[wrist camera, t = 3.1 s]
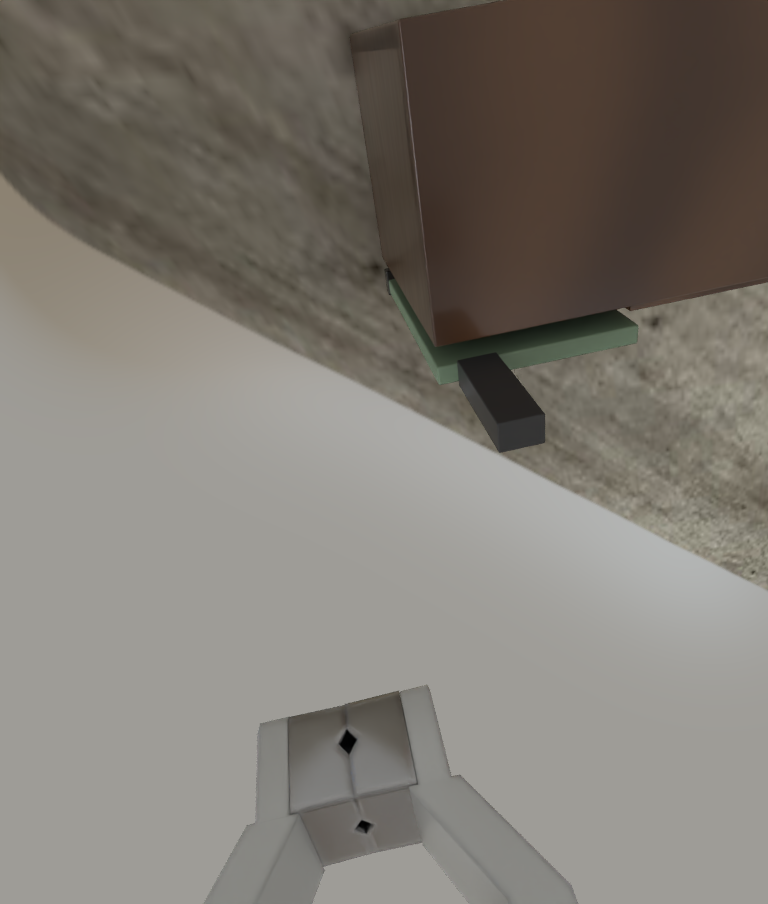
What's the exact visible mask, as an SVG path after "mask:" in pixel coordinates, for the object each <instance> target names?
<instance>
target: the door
mask: <svg viewBox="0 0 768 904" xmlns="http://www.w3.org/2000/svg"><path fill="white" fill-rule="evenodd" d="M389 288H390V293H391V295H392V297H393V299H394V301H395V303H396V305H397V306H398V308H399V310H400V312H401V314H402V316H403V318H404V320H405V321H406V323H407V325H408V327H409V329H410V331H411V333H412V335H413V337H414V338H415V340H416V342H417V344H418V346H419V348H420V350H421V352H422V354H423V355H424V357H425V359H426V361H427V363H428V365H429V367H430V369H431V371H432V372H433V374H434V376H435V378H436V380H437V382H438V384H439V385H442V384H447V383H452V382H456V381H459V386H460V387H461V389H462V391H463V392H464V394H465V396H466V397H467V399H468V401H469V403H470V404H471V406H472V408H473V409H474V411H475V413H476V414H477V416H478V418H479V419H480V421H481V423H482V425H483V426H484V428H485V430H486V431H487V433H488V435H489V436H490V438H491V440H492V441H493V443H494V445H495V446H496V448H497V450H498V452H500V453H501V452H505V451H510V450H515V449H519V448H524V447H528V446H533V445H537V444H542V443H545V414H544V412H543V411H542V410H541V408H540V407H539V406H538V405H537V403H536V402H535V401H534V399H533V398H532V397H531V396H530V394H529V393H528V392H527V391H526V389H525V388H524V387H523V385H522V384H521V383H520V382H519V380H518V379H517V378H516V377H515V375H514V374H513V373H512V371H511V370H513V369H517V368H522V367H527V366H532V365H536V364H541V363H546V362H550V361H555V360H560V359H564V358H569V357H574V356H579V355H583V354H588V353H593V352H597V351H602V350H607V349H611V348H616V347H621V346H626V345H630V344H635V343H637V338H638V325H637V324H636V323H634V322H633V321H631V320H630V319H629V318H627V317H626V316H624V315H623V314H622V313H620V312H619V311H617V310H611V311H606V312H602V313H597V314H592V315H587V316H583V317H578V318H573V319H568V320H563V321H559V322H554V323H549V324H544V325H540V326H535V327H530V328H525V329H521V330H516V331H511V332H506V333H501V334H497V335H492V336H487V337H482V338H478V339H473V340H468V341H463V342H458V343H454V344H449V345H444V346H439V347H435V346H434V344H433V343H432V341H431V339H430V337H429V336H428V334H427V332H426V331H425V329H424V327H423V325H422V324H421V322H420V320H419V319H418V317H417V315H416V313H415V312H414V310H413V308H412V307H411V305H410V303H409V302H408V300H407V298H406V296H405V295H404V293H403V291H402V290H401V288H400V286H399V284H398V283H397V281H396V279H392V280H389Z"/></svg>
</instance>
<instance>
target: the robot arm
mask: <svg viewBox="0 0 768 904" xmlns="http://www.w3.org/2000/svg"><path fill="white" fill-rule="evenodd" d="M400 696H401V697H400ZM401 701H402V702H401ZM256 779H257V780H256V782H257V783H256V821H255V823H254V824H250V825H247V826H246V828H245V830H244V831H243V833H242V835H241V837H240V839H239V841H238V842H237V844H236V846H235V848H234V849H233V851H232V853H231V855H230V857H229V858H228V860H227V862H226V864H225V866H224V868H223V869H222V871H221V873H220V875H219V877H218V878H217V880H216V882H215V884H214V886H213V887H212V889H211V891H210V893H209V895H208V896H207V898H206V900H205V902H204V904H312V903H313V899H314V897H315V894H316V892H317V889H318V887H319V884H320V881H321V878H322V876H323V873H324V868H323V867H324V866H327V865H331V864H335V863H339V862H342V861H346V860H349V859H353V858H357V857H360V856H364V855H368V854H371V853H376V852H380V851H385V850H389V849H395V848H399V847H404V846H408V845H413V844H418V843H423V846H424V847H425V849H426V850H427V851H428V852H429V854H430V855H431V856H432V857H433V859H434V860H435V861H436V862H437V864H438V865H439V866H440V868H441V869H442V870H443V871H444V873H445V874H446V875H447V876H448V878H449V879H450V880H451V881H452V883H453V884H454V885H455V887H456V888H457V889H458V890H459V892H460V893H461V894H462V895H463V897H464V898H465V899H466V900H467V902H468V903H469V904H578V902H577V899H576V896H575V894H574V891H573V888H572V885H571V884H570V883H569V882H568V881H567V880H566V879H565V878H564V877H563V876H562V875H561V874H560V873H559V872H558V871H557V870H556V869H555V868H554V867H553V866H552V865H551V864H550V863H549V862H548V861H547V860H546V859H544V857H543V856H542V855H541V854H540V853H538V852H537V850H535V848H534V847H533V846H531V845H530V844H529V843H528V842H527V841H526V840H525V839H524V838H523V837H522V836H521V835H520V834H519V833H518V832H517V831H516V830H515V829H514V828H513V827H512V826H511V825H510V824H509V823H508V822H507V821H506V820H505V819H504V818H503V817H502V816H501V815H500V814H499V813H498V812H497V811H496V810H495V809H494V808H493V807H492V806H491V805H490V804H489V803H488V802H487V801H486V800H485V799H484V798H483V797H482V796H481V795H480V794H479V793H478V792H477V791H476V790H475V789H474V788H473V787H472V786H471V785H470V784H469V783H468V782H467V781H466V780H465V779H464V778H463V777H462V776H461V775H456V776H451V772H450V769H449V764H448V761H447V757H446V753H445V748H444V745H443V741H442V737H441V733H440V728H439V725H438V721H437V717H436V712H435V708H434V705H433V701H432V697H431V693H430V690H429V687H428V686H427V685H424V686H420V687H416V688H412V689H408V690H404V691H401V692H400V693H399V691H396V692H392V693H388V694H384V695H380V696H376V697H372V698H368V699H364V700H360V701H356V702H352V703H348V704H345V705H342V706H338V707H333V708H329V709H324V710H320V711H315V712H310V713H306V714H301V715H297V716H292V717H286V718H282V719H277V720H274V721H269V722H265V723H261V724H260V727H259V731H258V737H257V778H256Z"/></svg>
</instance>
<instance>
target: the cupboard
mask: <svg viewBox="0 0 768 904" xmlns="http://www.w3.org/2000/svg"><path fill="white" fill-rule="evenodd" d="M349 38H350V44H351V51H352V58H353V64H354V71H355V78H356V84H357V91H358V97H359V104H360V111H361V117H362V124H363V131H364V137H365V144H366V150H367V157H368V164H369V170H370V177H371V184H372V190H373V197H374V204H375V210H376V217H377V223H378V230H379V237H380V243H381V250H382V257H383V259H384V261H385V262H386V264H387V266H388V267H389V268H387V269H385V277H386V283H387V290H388V293H389V295H391V293H390V288H389V280H392V279H396V281H397V283H398V284H399V286H400V288H401V290H402V291H403V293H404V295H405V296H406V298H407V300H408V302H409V303H410V305H411V307H412V308H413V310H414V312H415V313H416V315H417V317H418V319H419V320H420V322H421V324H422V325H423V327H424V329H425V331H426V332H427V334H428V336H429V337H430V339H431V341H432V343H433V344H434V346H435V347H439V346H444V345H449V344H454V343H458V342H463V341H468V340H473V339H478V338H482V337H487V336H492V335H497V334H501V333H506V332H511V331H516V330H521V329H525V328H530V327H535V326H540V325H544V324H549V323H554V322H559V321H563V320H568V319H573V318H578V317H583V316H587V315H592V314H597V313H602V312H606V311H611V310H616V309H621V308H626V309H628V310H629V311H633V310H638V309H642V308H647V307H652V306H657V305H661V304H666V303H671V302H676V301H681V300H685V299H690V298H695V297H700V296H704V295H709V294H714V293H719V292H723V291H728V290H733V289H738V288H743V287H747V286H752V285H757V284H762V283H766V282H768V0H503V1H497V2H492V3H486V4H481V5H475V6H469V7H464V8H458V9H453V10H447V11H442V12H436V13H431V14H425V15H420V16H414V17H409V18H403V19H399V20H395V21H392V22H389V23H385V24H382V25H379V26H375V27H372V28H369V29H365V30H362V31H359V32H356V33H352V34H350V36H349Z"/></svg>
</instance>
